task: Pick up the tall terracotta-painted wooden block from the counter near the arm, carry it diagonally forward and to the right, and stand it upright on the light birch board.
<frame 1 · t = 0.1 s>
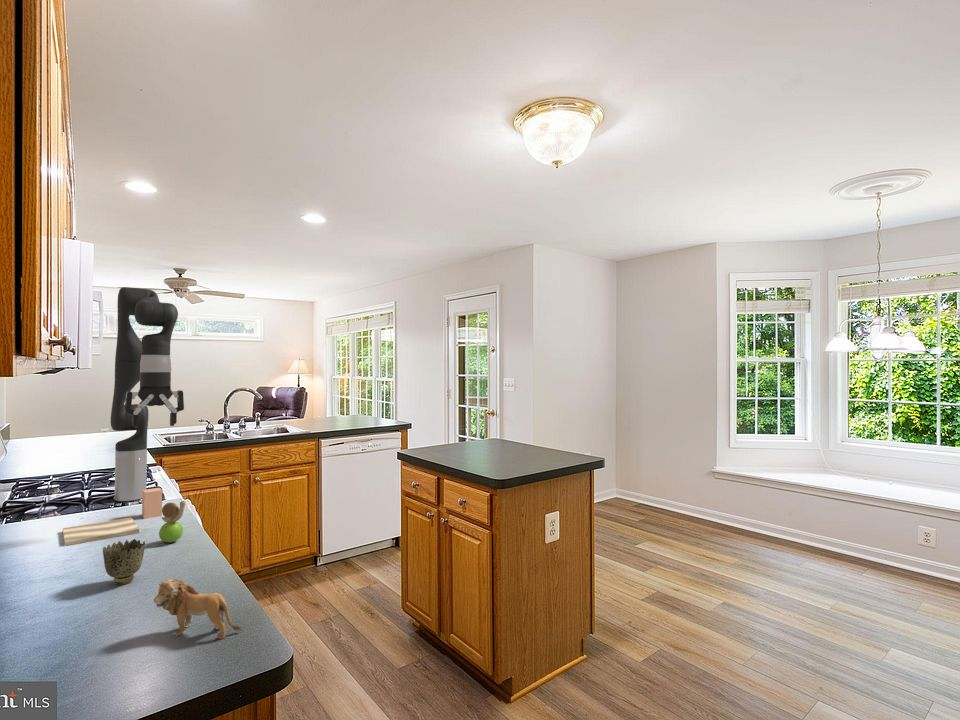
hand: (154, 426, 144), 29 cm above the table, tool pointing down, fingers open, 8 cm apart
snail figurine: (172, 542, 132), on the table
birch board: (100, 532, 140), on the table
lion figurine: (195, 634, 87), on the table
terracotta block: (151, 515, 156), on the table
cup: (123, 583, 107), on the table
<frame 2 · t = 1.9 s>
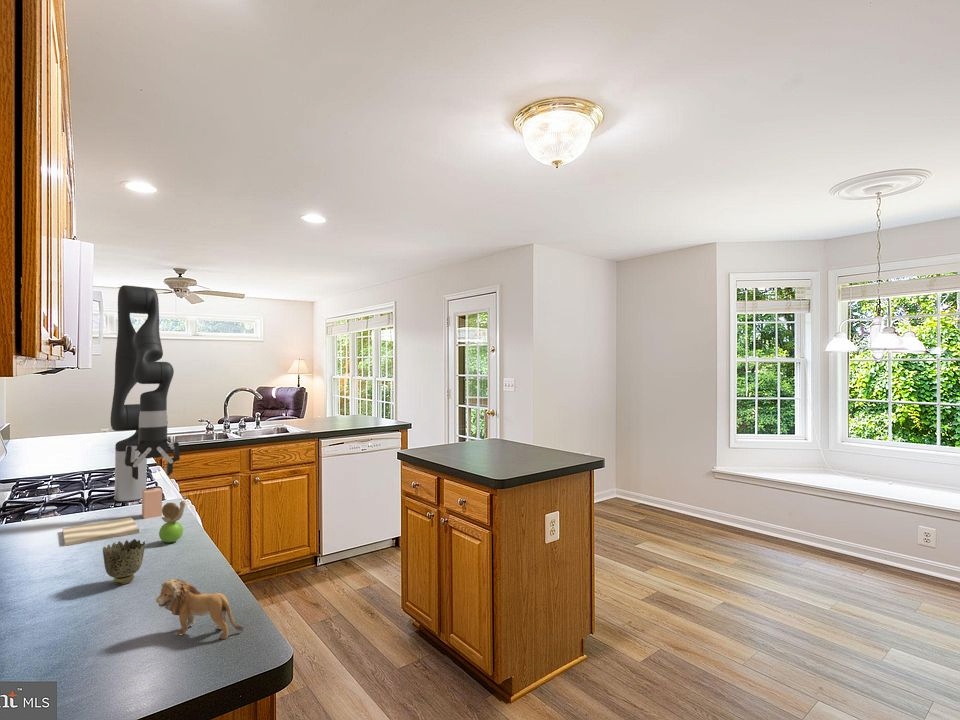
hand: (152, 477, 156), 12 cm above the table, tool pointing down, fingers open, 8 cm apart
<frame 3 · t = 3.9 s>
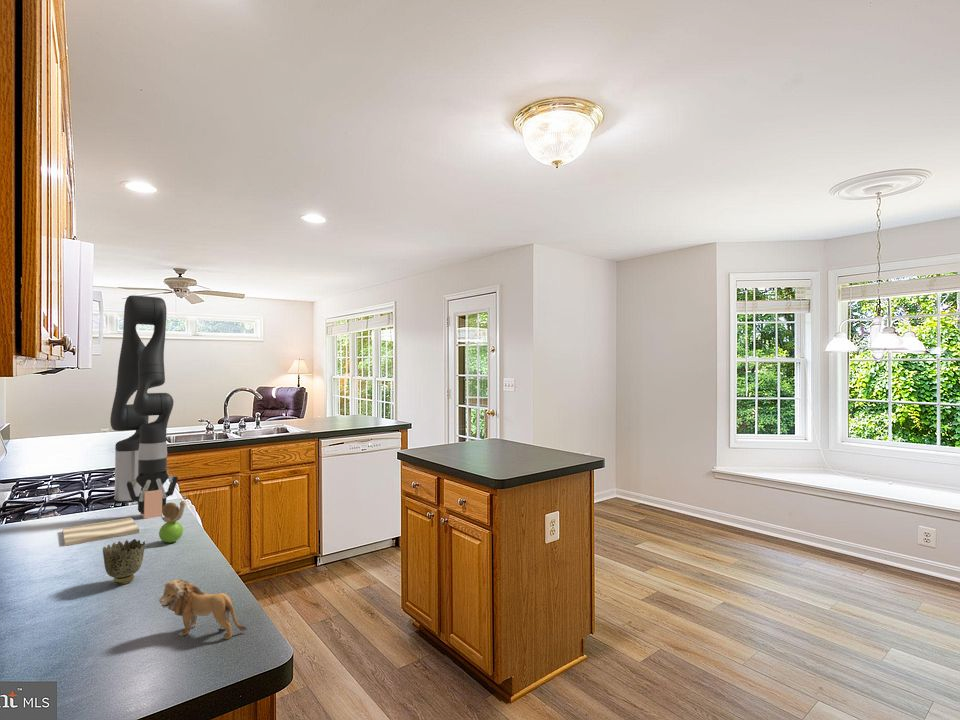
hand: (151, 511, 156), 1 cm above the table, tool pointing down, fingers closed on terracotta block, 4 cm apart
terracotta block: (151, 515, 156), on the table, touching gripper
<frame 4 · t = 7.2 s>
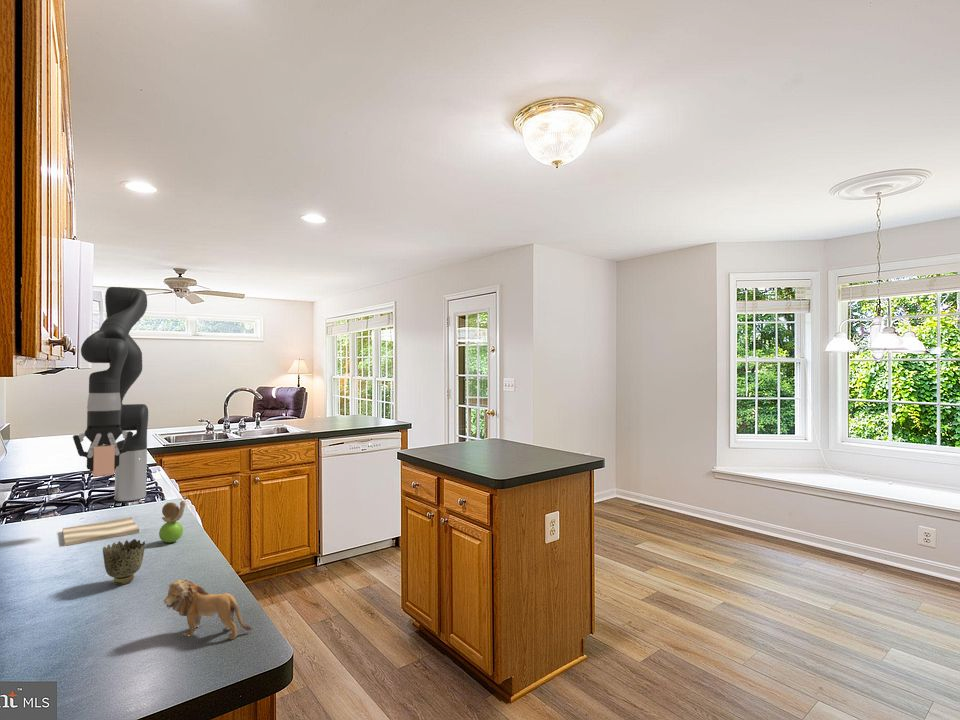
hand: (103, 469, 140), 18 cm above the table, tool pointing down, fingers closed on terracotta block, 4 cm apart
terracotta block: (103, 474, 140), point 16 cm above the table, touching gripper
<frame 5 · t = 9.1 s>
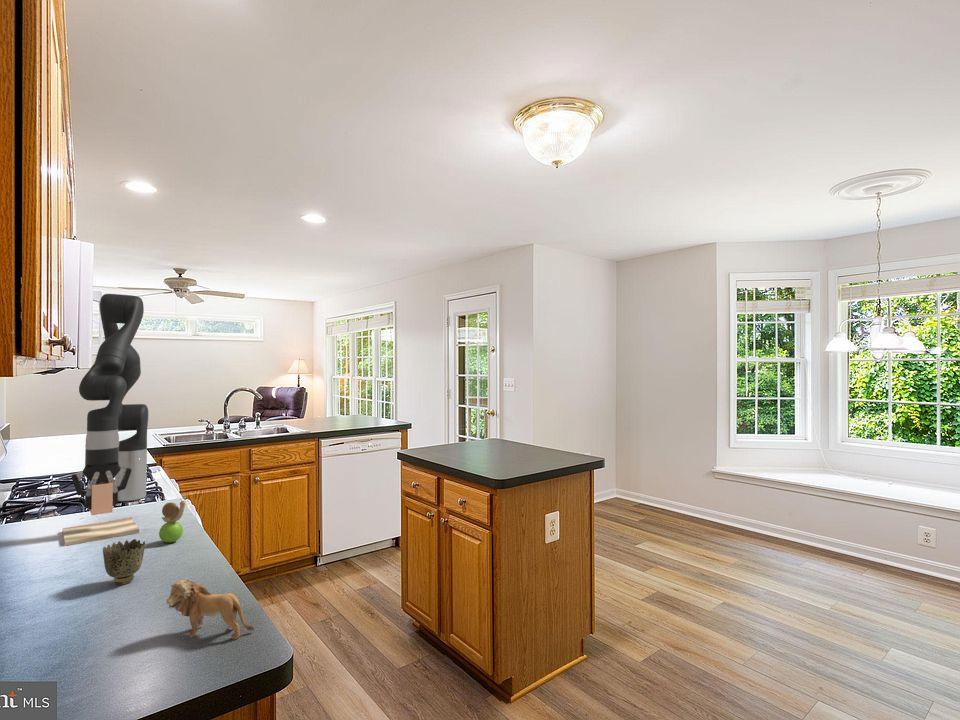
hand: (101, 507, 140), 7 cm above the table, tool pointing down, fingers closed on terracotta block, 4 cm apart
terracotta block: (101, 512, 140), point 6 cm above the table, touching gripper
when the fingers open (4 cm above the table, at t = 10.6 s): terracotta block drops 1 cm, resting on birch board.
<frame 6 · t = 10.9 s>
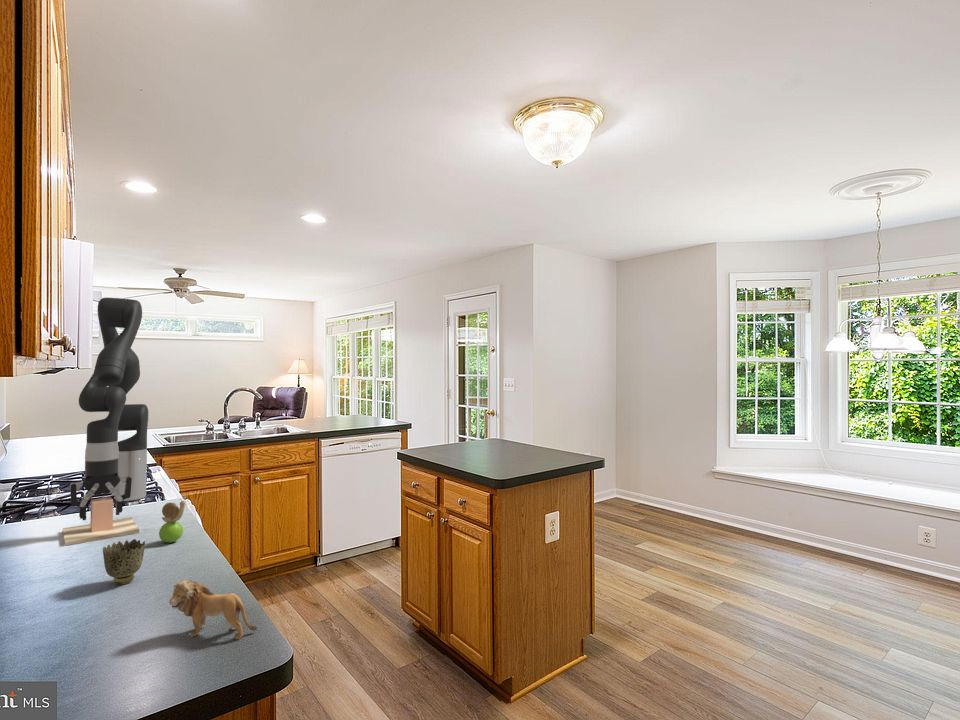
hand: (101, 516, 140), 4 cm above the table, tool pointing down, fingers open, 7 cm apart
terracotta block: (101, 528, 140), point 1 cm above the table, touching birch board
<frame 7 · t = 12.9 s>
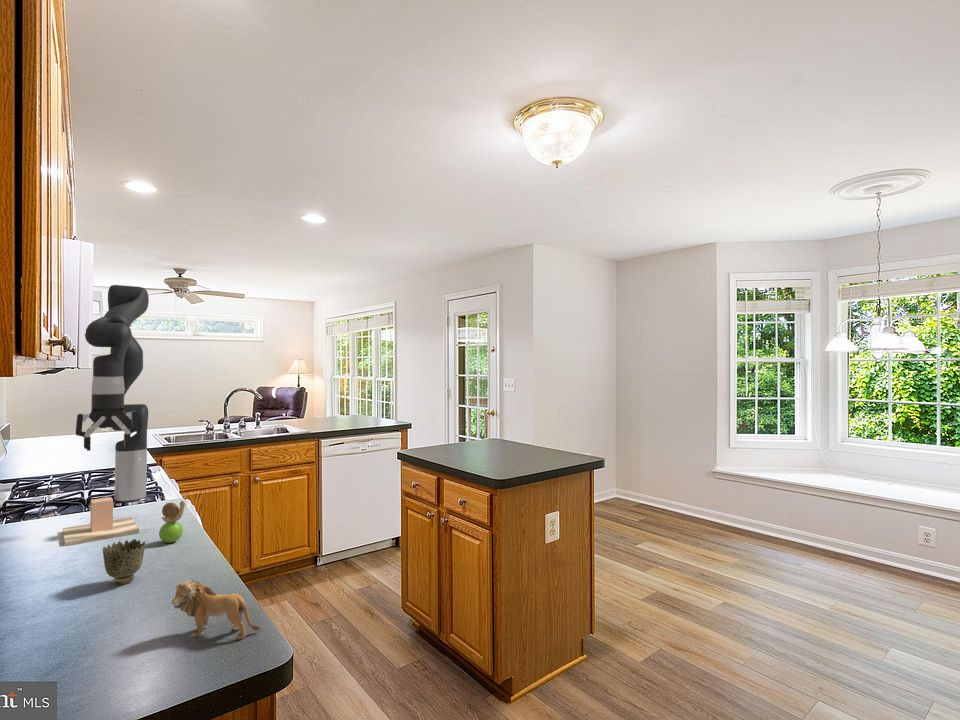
hand: (107, 448, 143), 23 cm above the table, tool pointing down, fingers open, 8 cm apart
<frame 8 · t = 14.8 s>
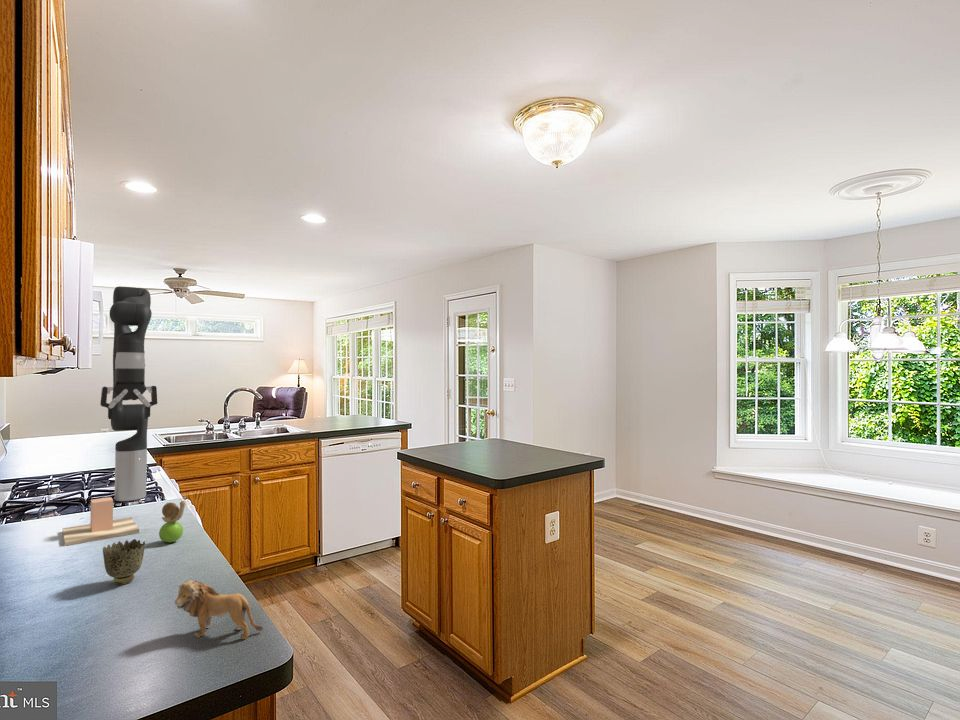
hand: (129, 419, 154), 30 cm above the table, tool pointing down, fingers open, 8 cm apart
at the end: terracotta block inside the target area on the birch board (0.1 cm from its centre), point 1.0 cm above the birch board's base; terracotta block tilted 0°; the gripper is holding nothing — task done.
